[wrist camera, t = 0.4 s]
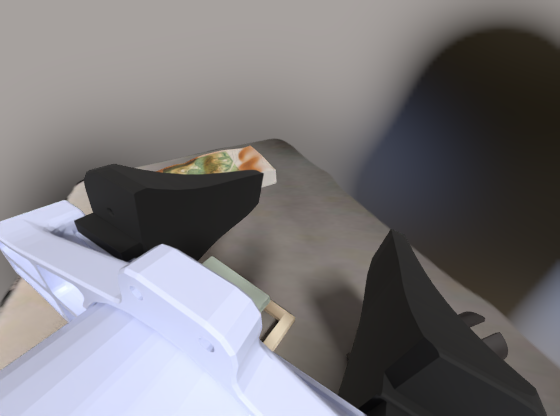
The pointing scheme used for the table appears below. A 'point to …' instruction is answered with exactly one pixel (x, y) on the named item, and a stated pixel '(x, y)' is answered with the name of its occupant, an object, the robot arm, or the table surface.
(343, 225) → the table surface
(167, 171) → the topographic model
